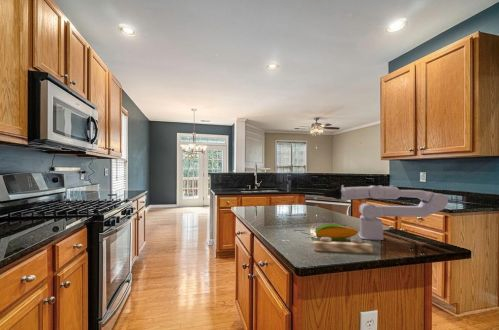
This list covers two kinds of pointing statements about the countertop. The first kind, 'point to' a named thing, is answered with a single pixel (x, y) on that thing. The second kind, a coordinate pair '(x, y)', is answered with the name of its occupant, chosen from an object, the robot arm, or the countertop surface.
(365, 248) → the boss rack
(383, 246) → the countertop surface
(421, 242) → the countertop surface
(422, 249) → the countertop surface
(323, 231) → the corn
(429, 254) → the countertop surface
